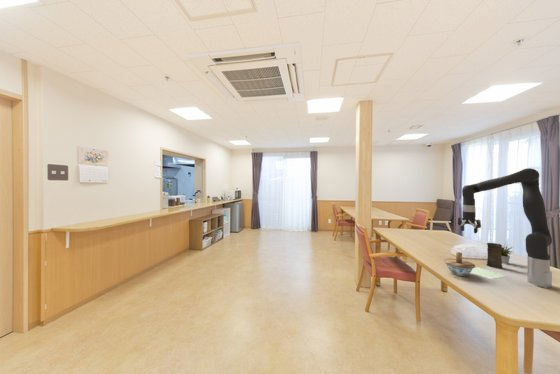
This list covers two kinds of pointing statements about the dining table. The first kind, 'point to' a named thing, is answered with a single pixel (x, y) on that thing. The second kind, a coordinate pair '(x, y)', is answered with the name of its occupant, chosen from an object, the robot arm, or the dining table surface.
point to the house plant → (505, 255)
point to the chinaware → (459, 270)
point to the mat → (486, 273)
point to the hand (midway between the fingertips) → (468, 232)
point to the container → (494, 255)
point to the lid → (459, 262)
